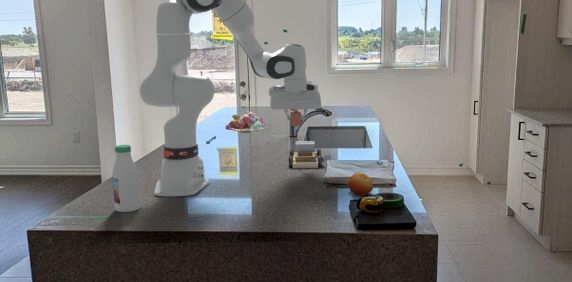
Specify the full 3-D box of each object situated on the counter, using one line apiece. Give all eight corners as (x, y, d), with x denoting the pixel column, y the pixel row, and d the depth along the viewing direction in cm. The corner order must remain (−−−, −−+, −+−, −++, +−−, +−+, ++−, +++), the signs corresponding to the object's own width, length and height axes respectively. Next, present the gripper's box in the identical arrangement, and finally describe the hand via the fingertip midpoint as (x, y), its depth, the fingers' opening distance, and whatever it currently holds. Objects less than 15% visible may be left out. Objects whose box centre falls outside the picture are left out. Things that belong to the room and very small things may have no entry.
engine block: (301, 125, 203) (300, 111, 201) (290, 125, 203) (290, 111, 201) (301, 122, 207) (300, 108, 206) (291, 122, 208) (290, 108, 206)
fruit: (351, 184, 175) (362, 166, 171) (369, 199, 171) (380, 181, 167) (338, 190, 168) (349, 171, 164) (356, 205, 165) (367, 187, 161)
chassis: (322, 167, 203) (321, 150, 201) (288, 168, 203) (288, 151, 202) (320, 156, 222) (320, 140, 221) (290, 156, 223) (289, 141, 222)
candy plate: (218, 128, 300) (217, 112, 298) (249, 123, 315) (249, 108, 314) (245, 133, 282) (244, 116, 280) (276, 127, 297) (276, 111, 296)
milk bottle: (143, 204, 163) (138, 142, 159) (137, 212, 155) (132, 148, 151) (119, 205, 163) (113, 143, 159) (112, 213, 155) (105, 148, 151)
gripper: (268, 87, 198) (269, 122, 202) (321, 86, 198) (321, 121, 201) (269, 84, 205) (270, 118, 208) (320, 83, 204) (321, 117, 207)
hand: (296, 120), depth 205 cm, fingers closed on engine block, 4 cm apart
